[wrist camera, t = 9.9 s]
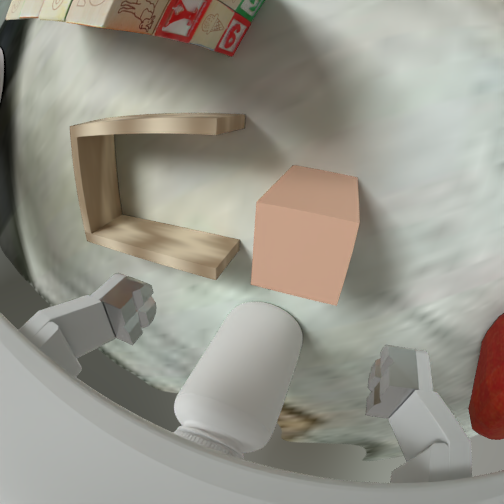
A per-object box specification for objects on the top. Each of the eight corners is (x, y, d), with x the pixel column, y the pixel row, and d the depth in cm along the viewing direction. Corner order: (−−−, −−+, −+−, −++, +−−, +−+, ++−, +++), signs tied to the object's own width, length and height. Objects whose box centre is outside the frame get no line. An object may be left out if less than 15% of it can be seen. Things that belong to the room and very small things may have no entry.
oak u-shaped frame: (116, 221, 27) (87, 241, 23) (106, 117, 21) (69, 126, 18) (239, 250, 24) (215, 280, 20) (245, 114, 18) (216, 118, 14)
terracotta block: (286, 223, 21) (250, 284, 14) (293, 165, 19) (256, 202, 12) (345, 236, 20) (336, 305, 13) (357, 177, 17) (359, 223, 11)
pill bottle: (214, 321, 29) (137, 437, 17) (259, 283, 25) (173, 434, 12) (268, 364, 30) (216, 482, 18) (321, 337, 25) (276, 487, 13)
